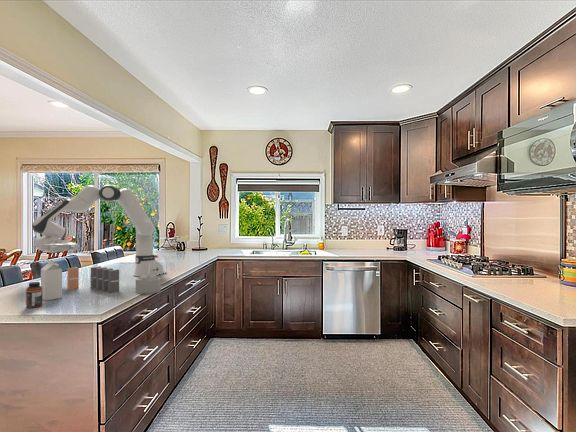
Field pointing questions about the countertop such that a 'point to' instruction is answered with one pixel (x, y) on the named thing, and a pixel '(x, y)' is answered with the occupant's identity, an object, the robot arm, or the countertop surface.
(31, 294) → the supplement bottle
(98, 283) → the domino
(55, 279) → the milk carton
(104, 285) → the domino
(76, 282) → the terracotta domino
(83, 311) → the countertop surface
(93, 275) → the domino
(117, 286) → the domino
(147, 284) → the light gray block
